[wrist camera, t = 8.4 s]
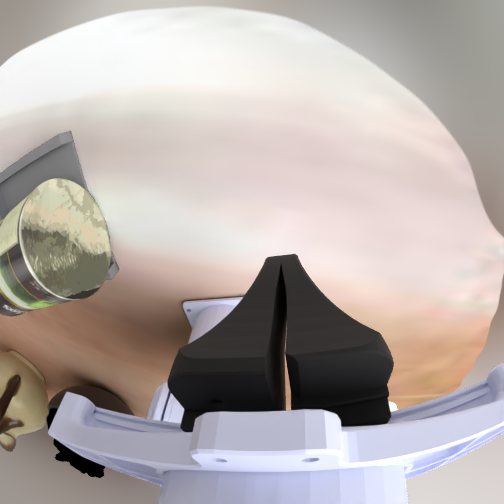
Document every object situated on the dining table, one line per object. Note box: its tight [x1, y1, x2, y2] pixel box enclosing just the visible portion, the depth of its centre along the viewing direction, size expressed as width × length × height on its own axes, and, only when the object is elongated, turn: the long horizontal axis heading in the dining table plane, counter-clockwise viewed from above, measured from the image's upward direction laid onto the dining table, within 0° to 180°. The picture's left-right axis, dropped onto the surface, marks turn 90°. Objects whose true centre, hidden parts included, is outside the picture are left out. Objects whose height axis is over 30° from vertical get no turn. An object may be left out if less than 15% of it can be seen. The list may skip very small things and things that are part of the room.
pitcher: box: [0, 350, 49, 452], centre depth 35 cm, size 22×24×25 cm
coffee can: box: [0, 178, 111, 316], centre depth 20 cm, size 10×10×14 cm
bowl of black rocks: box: [46, 386, 134, 478], centre depth 35 cm, size 20×20×19 cm
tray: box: [0, 131, 119, 280], centre depth 23 cm, size 15×16×2 cm
